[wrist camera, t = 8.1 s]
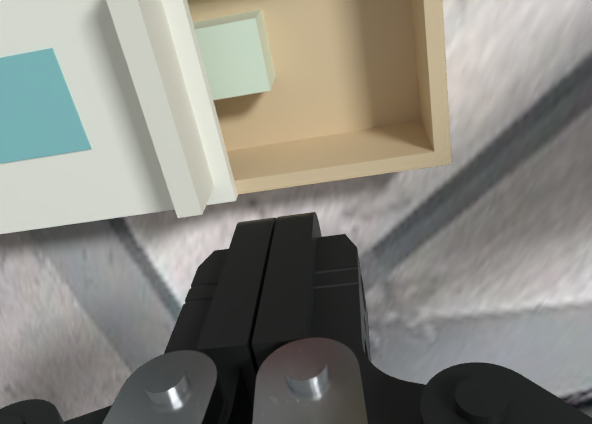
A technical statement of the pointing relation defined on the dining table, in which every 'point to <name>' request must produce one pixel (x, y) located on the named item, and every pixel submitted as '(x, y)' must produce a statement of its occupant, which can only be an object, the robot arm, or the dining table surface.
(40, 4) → the lid
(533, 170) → the dining table surface
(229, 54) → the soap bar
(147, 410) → the robot arm
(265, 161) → the open tan box
